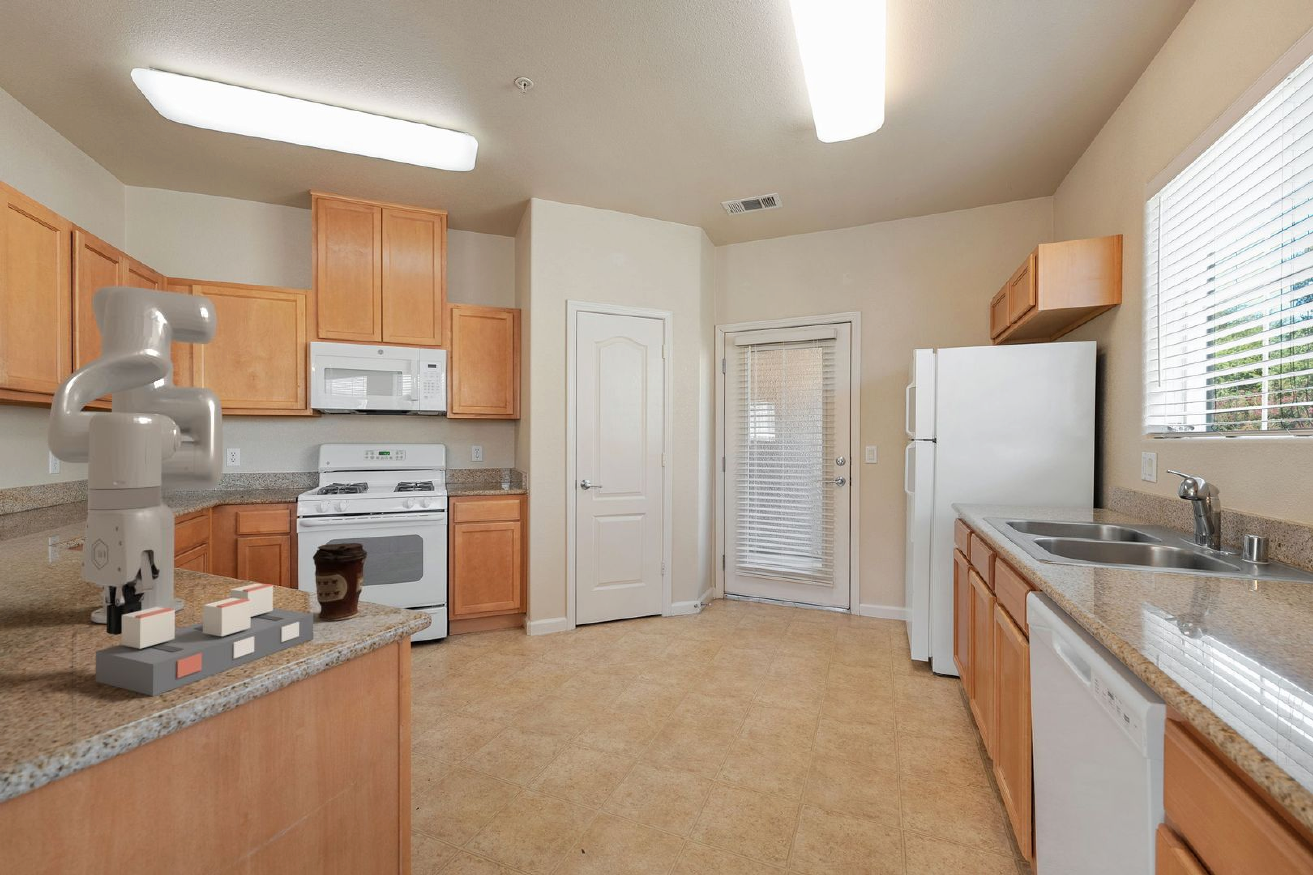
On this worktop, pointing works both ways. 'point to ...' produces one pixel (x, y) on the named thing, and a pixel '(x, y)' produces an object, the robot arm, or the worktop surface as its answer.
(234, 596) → the white red-striped block
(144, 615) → the white box
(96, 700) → the worktop surface
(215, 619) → the white red-striped block
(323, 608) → the coffee cup
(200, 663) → the console
